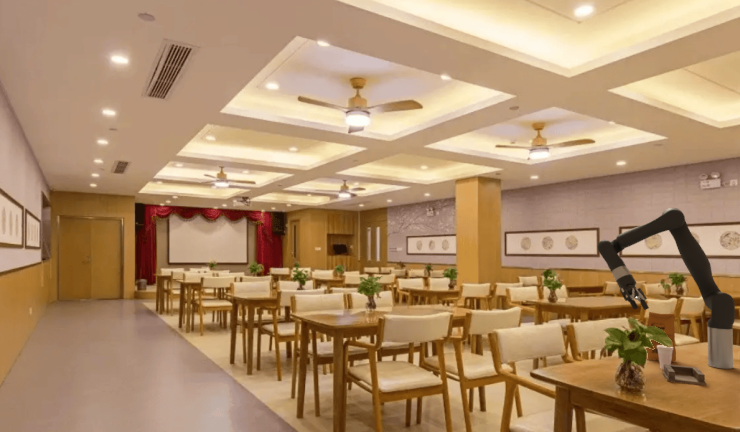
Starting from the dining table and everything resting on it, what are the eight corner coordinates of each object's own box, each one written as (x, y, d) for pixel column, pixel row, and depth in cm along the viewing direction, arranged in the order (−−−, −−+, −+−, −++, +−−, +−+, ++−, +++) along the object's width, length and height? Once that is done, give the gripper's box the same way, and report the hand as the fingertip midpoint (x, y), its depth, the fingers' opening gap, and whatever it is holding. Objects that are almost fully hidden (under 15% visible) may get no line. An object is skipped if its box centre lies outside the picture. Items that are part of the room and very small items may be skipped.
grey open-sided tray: (662, 373, 211) (662, 363, 211) (698, 377, 206) (698, 367, 207) (667, 381, 199) (667, 371, 199) (706, 385, 194) (706, 375, 195)
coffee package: (646, 355, 244) (645, 310, 245) (676, 359, 237) (675, 312, 238) (645, 359, 235) (644, 312, 236) (676, 363, 229) (675, 315, 230)
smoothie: (676, 371, 215) (675, 338, 216) (659, 370, 217) (659, 337, 217) (670, 367, 222) (670, 335, 222) (654, 366, 223) (654, 334, 224)
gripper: (621, 273, 231) (639, 304, 222) (638, 274, 239) (657, 305, 230) (608, 281, 236) (625, 312, 227) (625, 282, 244) (643, 312, 235)
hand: (641, 308), depth 229 cm, fingers open, 8 cm apart
